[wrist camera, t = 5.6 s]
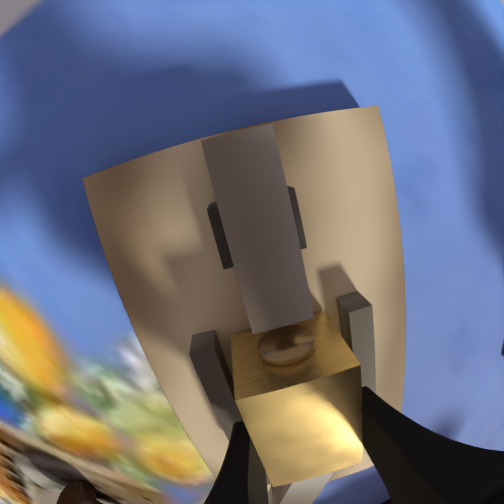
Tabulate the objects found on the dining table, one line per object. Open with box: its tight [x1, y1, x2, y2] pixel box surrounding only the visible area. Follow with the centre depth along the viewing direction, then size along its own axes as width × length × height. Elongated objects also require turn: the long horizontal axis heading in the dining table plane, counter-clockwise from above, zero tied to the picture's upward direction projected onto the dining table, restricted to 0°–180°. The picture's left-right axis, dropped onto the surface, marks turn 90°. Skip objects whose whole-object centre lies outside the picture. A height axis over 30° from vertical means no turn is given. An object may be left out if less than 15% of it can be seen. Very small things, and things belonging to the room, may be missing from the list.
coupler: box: [231, 310, 363, 487], centre depth 11 cm, size 4×7×4 cm, turn 14°
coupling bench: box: [82, 106, 406, 504], centre depth 13 cm, size 12×22×4 cm, turn 14°
